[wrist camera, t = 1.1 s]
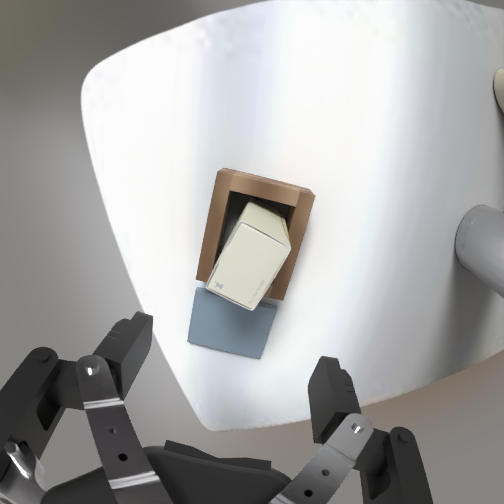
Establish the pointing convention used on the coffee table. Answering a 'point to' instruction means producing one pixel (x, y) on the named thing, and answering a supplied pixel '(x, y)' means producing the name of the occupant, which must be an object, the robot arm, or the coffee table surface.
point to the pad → (229, 324)
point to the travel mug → (499, 87)
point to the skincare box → (251, 255)
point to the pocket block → (262, 188)
